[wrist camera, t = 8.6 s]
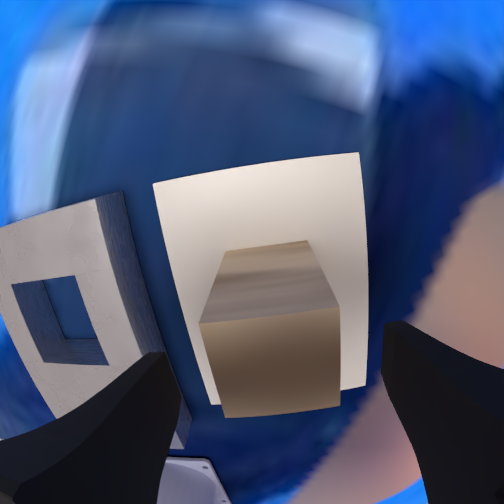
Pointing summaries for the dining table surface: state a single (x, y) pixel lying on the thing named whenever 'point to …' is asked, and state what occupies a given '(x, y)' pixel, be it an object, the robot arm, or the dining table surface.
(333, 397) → the peg
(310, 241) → the pad
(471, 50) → the dining table surface
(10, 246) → the white frame
